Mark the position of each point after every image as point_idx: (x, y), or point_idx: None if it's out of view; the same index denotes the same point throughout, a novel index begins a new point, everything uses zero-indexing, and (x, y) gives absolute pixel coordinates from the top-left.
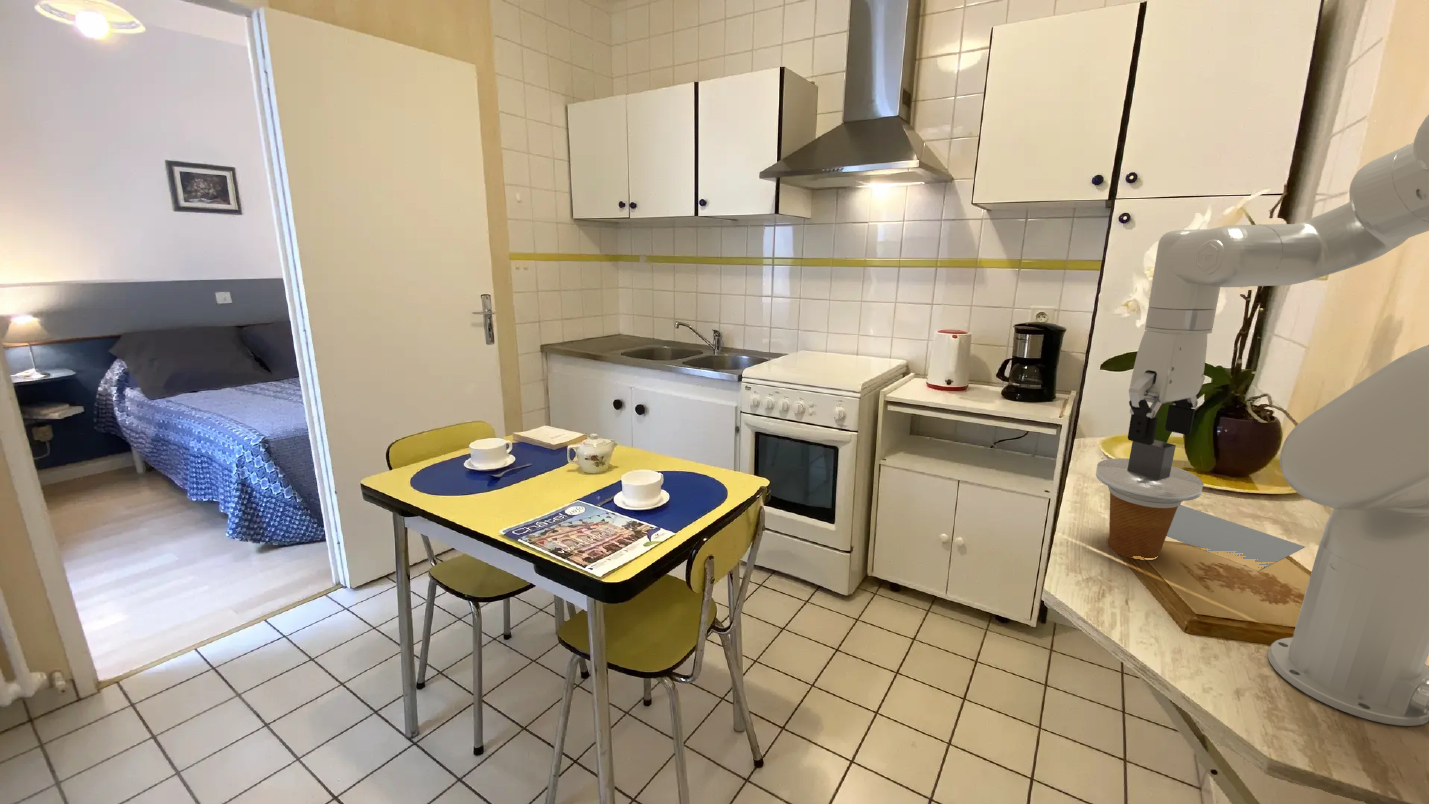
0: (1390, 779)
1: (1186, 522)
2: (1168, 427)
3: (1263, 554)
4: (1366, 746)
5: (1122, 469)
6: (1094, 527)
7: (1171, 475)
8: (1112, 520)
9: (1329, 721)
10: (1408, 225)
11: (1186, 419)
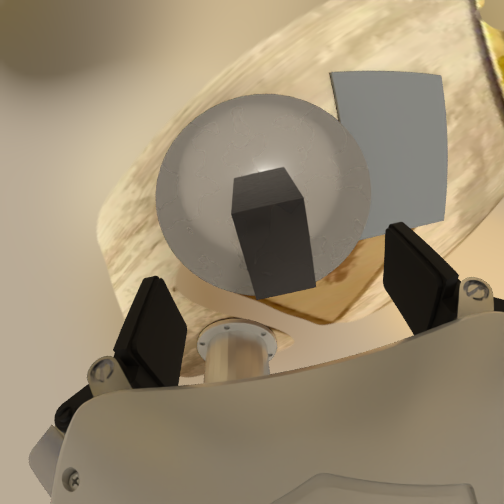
0: (182, 374)
1: (405, 129)
2: (390, 240)
3: (396, 218)
4: (192, 366)
5: (227, 169)
6: (271, 79)
7: (309, 231)
8: None
9: (191, 356)
10: None
11: (405, 311)
